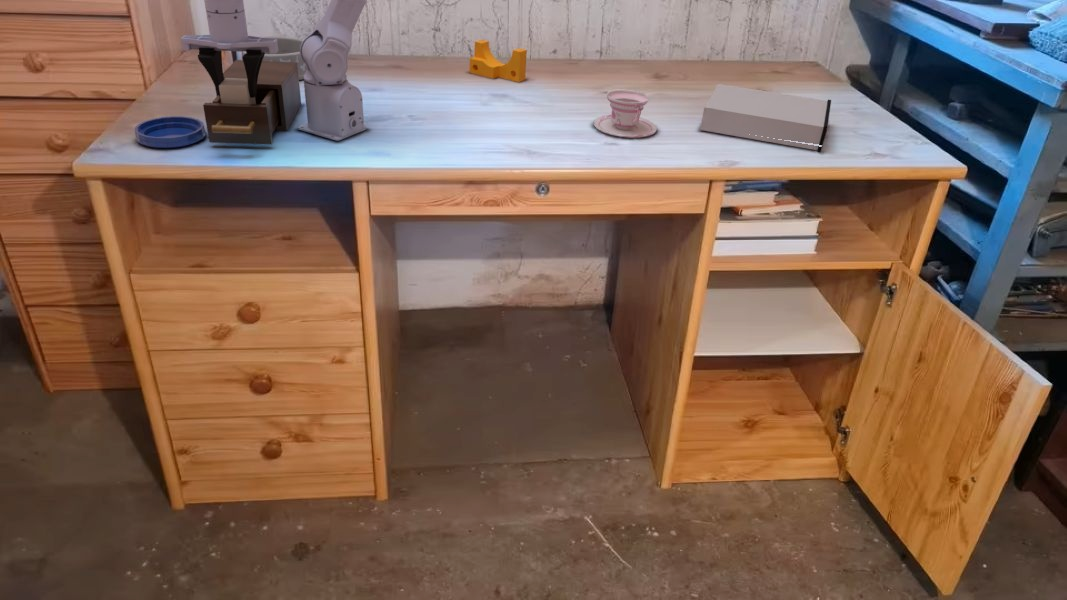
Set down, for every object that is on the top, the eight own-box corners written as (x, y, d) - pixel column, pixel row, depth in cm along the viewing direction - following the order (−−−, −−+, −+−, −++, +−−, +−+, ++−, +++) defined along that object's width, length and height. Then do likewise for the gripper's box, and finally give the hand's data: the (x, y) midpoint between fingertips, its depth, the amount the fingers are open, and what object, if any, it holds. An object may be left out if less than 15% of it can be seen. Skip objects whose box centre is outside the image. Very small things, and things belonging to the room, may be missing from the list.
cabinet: (286, 130, 137) (281, 84, 133) (221, 128, 136) (214, 82, 132) (301, 105, 149) (297, 62, 145) (241, 102, 148) (235, 59, 144)
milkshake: (216, 89, 154) (208, 37, 149) (237, 82, 158) (229, 32, 153) (233, 93, 152) (226, 41, 147) (253, 87, 157) (247, 35, 151)
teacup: (582, 120, 151) (585, 88, 148) (636, 115, 155) (640, 84, 152) (612, 141, 142) (616, 108, 139) (668, 135, 146) (673, 103, 143)
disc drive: (821, 152, 143) (828, 126, 141) (699, 131, 149) (704, 105, 147) (825, 124, 158) (832, 100, 155) (714, 106, 164) (718, 82, 161)
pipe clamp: (469, 72, 174) (469, 43, 171) (480, 68, 177) (481, 39, 174) (514, 83, 169) (515, 53, 165) (525, 79, 172) (526, 49, 169)
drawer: (266, 153, 126) (261, 114, 122) (202, 151, 125) (195, 112, 121) (287, 118, 140) (283, 83, 136) (230, 116, 139) (224, 81, 136)
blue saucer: (219, 136, 133) (217, 125, 132) (166, 154, 125) (164, 142, 124) (176, 123, 137) (174, 112, 136) (122, 140, 129) (120, 128, 128)
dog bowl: (280, 54, 177) (278, 30, 175) (336, 71, 169) (334, 46, 166) (215, 68, 165) (211, 42, 162) (271, 88, 157) (268, 61, 154)
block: (229, 103, 133) (225, 77, 130) (256, 104, 133) (252, 78, 131) (222, 112, 129) (218, 85, 126) (250, 112, 129) (246, 86, 127)
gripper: (169, 13, 119) (185, 101, 126) (267, 17, 120) (277, 104, 127) (183, 3, 125) (197, 88, 132) (276, 7, 126) (285, 91, 133)
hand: (237, 95), depth 130 cm, fingers closed on block, 4 cm apart
